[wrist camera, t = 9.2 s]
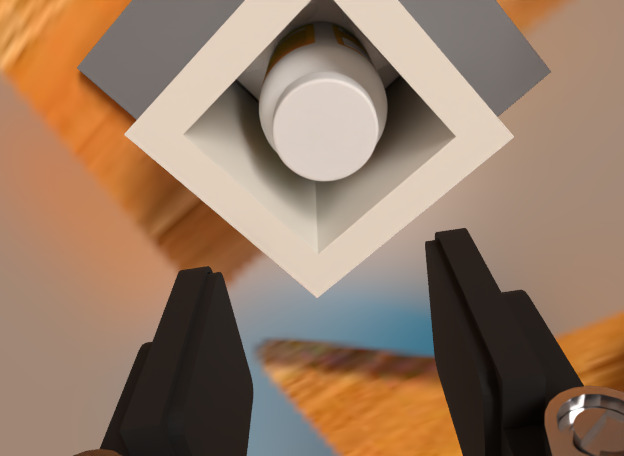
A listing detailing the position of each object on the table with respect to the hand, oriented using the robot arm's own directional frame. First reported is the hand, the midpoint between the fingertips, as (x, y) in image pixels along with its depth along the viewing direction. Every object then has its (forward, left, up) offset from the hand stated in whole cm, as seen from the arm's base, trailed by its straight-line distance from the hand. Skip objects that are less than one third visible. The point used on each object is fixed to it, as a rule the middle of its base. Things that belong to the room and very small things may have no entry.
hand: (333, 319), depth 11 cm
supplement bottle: (0, 0, -21) cm, 21 cm away
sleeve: (0, 0, -23) cm, 23 cm away
